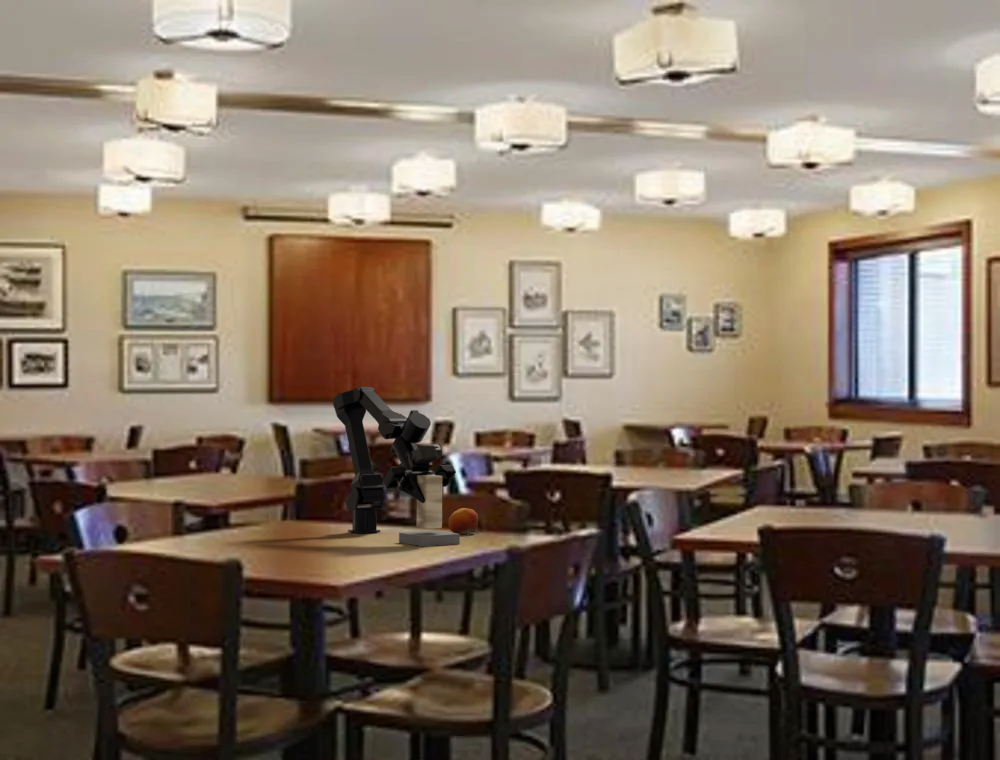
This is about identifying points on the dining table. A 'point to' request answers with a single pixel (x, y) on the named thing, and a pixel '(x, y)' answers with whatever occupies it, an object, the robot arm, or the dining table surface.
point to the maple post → (430, 502)
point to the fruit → (463, 521)
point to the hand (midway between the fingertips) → (432, 501)
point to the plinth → (429, 538)
